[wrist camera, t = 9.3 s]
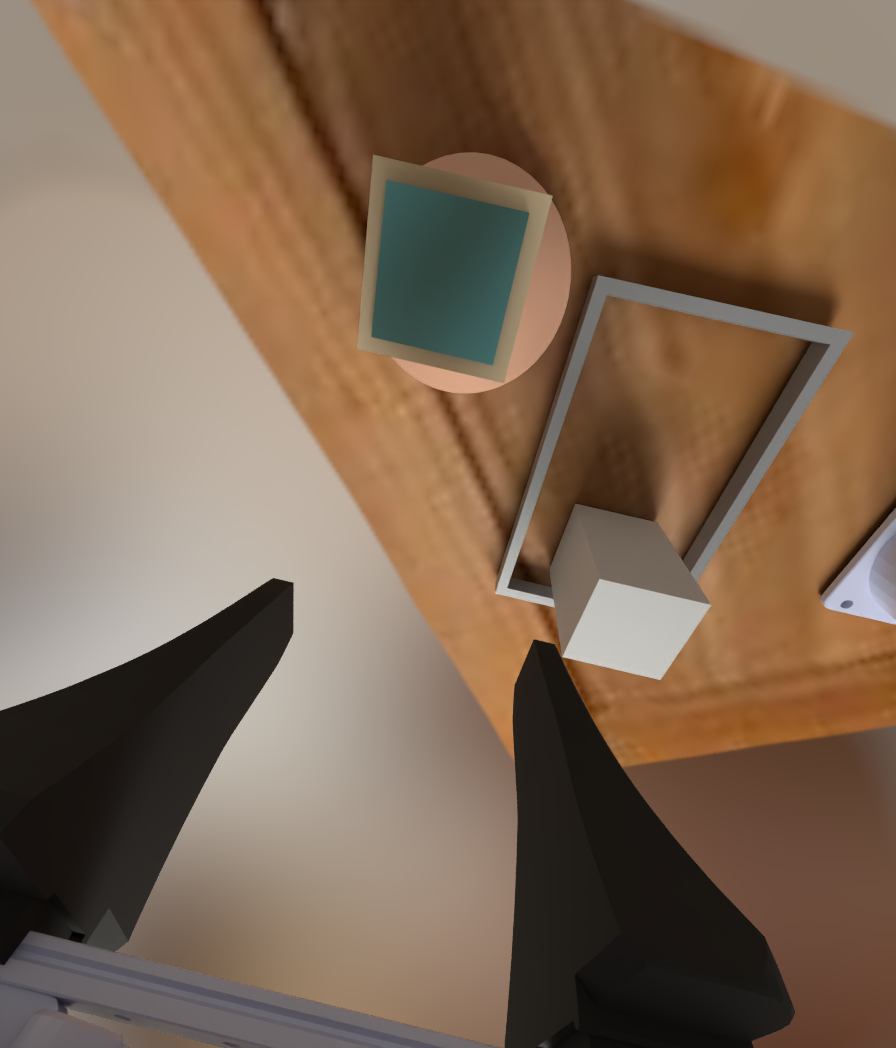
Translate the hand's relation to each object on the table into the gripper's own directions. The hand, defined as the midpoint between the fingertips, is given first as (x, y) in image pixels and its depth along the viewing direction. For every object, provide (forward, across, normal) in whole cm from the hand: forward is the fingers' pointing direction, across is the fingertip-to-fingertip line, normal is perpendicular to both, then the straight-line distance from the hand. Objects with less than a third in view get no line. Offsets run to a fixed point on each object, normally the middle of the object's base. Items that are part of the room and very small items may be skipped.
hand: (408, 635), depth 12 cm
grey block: (+10, -8, +1) cm, 12 cm away
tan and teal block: (+8, +1, -9) cm, 12 cm away
